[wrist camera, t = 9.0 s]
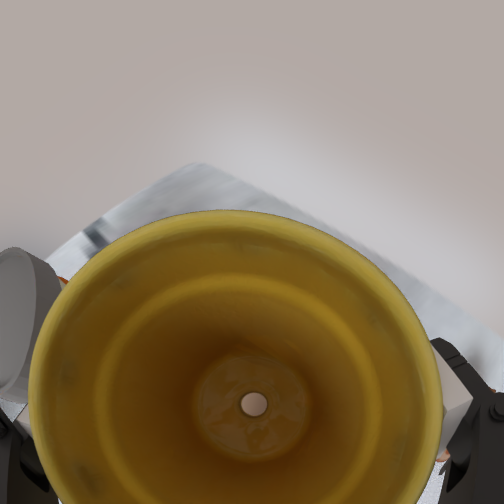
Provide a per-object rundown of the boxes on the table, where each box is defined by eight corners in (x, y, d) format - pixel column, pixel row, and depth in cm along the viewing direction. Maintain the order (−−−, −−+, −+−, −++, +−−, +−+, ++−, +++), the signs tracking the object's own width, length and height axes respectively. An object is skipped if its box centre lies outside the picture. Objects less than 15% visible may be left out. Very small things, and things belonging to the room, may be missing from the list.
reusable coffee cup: (157, 320, 28) (63, 256, 15) (128, 427, 22) (17, 433, 9) (79, 294, 31) (-6, 236, 17) (53, 382, 25) (-43, 356, 12)
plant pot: (268, 276, 16) (241, 143, 8) (389, 407, 12) (513, 413, 3) (131, 379, 14) (-5, 343, 6) (236, 516, 10) (173, 620, 1)
